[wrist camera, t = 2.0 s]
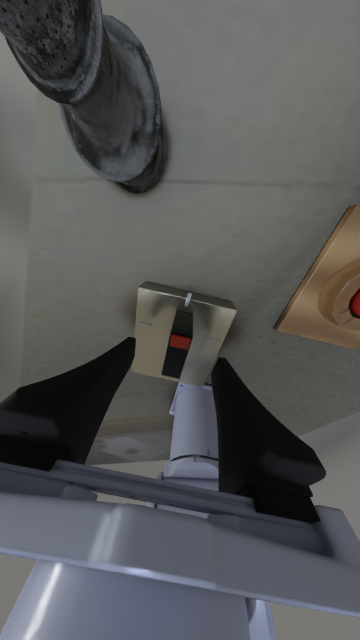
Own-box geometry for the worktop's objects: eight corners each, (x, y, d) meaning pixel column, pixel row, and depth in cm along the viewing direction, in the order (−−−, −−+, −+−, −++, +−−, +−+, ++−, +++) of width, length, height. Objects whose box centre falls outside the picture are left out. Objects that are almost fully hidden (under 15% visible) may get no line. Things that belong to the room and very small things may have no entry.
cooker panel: (201, 373, 22) (202, 388, 19) (137, 359, 22) (131, 372, 19) (233, 296, 16) (240, 305, 14) (146, 275, 16) (137, 280, 13)
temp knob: (182, 351, 17) (179, 381, 13) (167, 348, 17) (160, 377, 13) (193, 314, 14) (193, 338, 11) (176, 310, 14) (170, 333, 11)
